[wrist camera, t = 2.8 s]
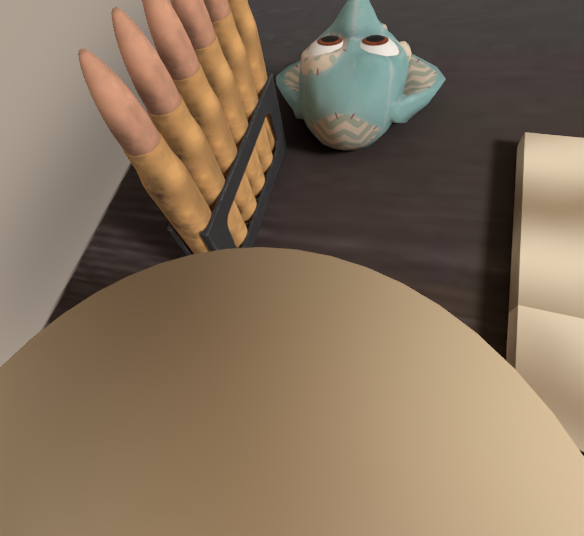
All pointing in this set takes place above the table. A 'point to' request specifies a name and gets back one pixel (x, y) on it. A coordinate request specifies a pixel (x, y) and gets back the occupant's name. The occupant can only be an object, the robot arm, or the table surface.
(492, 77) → the table surface
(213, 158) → the ammunition clip
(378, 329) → the cord reel
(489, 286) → the table surface
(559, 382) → the shelf board
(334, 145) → the stuffed animal
